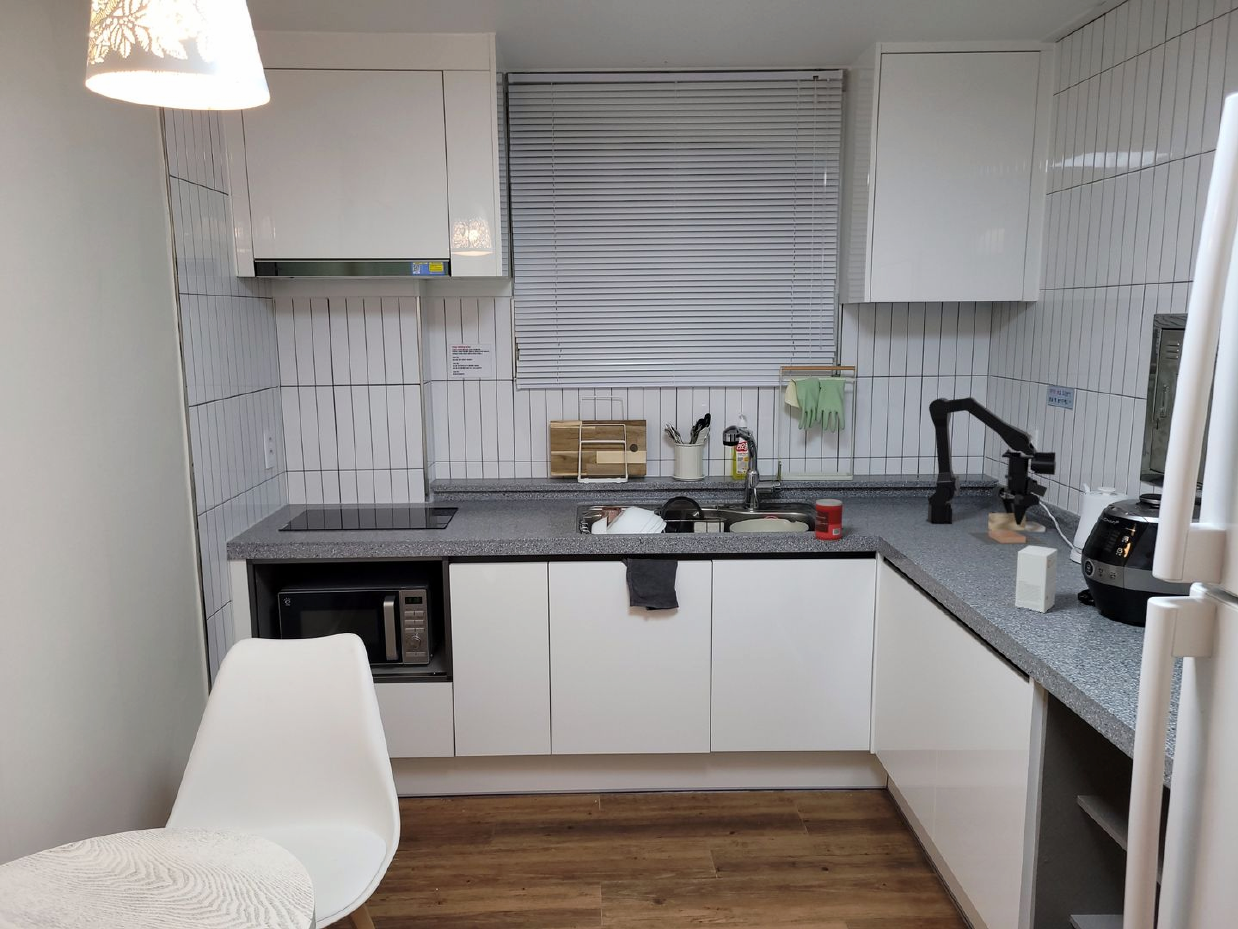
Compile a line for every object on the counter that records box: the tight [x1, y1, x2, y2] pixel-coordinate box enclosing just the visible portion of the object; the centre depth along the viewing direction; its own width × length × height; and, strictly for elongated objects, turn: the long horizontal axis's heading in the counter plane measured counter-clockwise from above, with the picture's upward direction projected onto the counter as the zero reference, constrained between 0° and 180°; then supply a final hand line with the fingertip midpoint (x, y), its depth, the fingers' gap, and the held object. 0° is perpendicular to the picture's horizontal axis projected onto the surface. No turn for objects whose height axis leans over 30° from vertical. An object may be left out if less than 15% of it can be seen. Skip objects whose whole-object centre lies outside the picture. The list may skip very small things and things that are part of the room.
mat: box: [967, 531, 1047, 546], centre depth 268 cm, size 17×15×1 cm
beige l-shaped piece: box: [987, 512, 1046, 533], centre depth 280 cm, size 15×8×5 cm, turn 90°
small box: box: [1014, 544, 1058, 614], centre depth 202 cm, size 8×6×13 cm
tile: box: [988, 529, 1026, 543], centre depth 267 cm, size 7×2×9 cm
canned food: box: [814, 498, 843, 541], centre depth 271 cm, size 8×8×11 cm
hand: (1014, 522), depth 280 cm, fingers open, 5 cm apart
